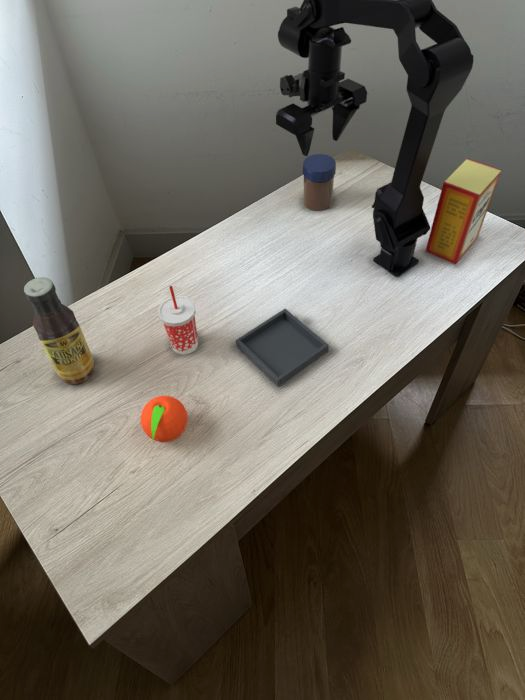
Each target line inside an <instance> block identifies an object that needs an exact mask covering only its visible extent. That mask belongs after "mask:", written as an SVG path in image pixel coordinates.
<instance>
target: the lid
mask: <svg viewBox="0 0 525 700" xmlns="http://www.w3.org/2000/svg"><path fill="white" fill-rule="evenodd" d="M336 170H337V163H336V160H335V158H333V157H332V156H331V155H328V154H324V153H316V154H311V155H308V156H306V158H304V160H303V163H302V174H303V178H304V177H305V178H306V179H308V180H310V181H313V182H325V181H328V180H330V179H332V178H333V177H334V178H335V175H336V172H337V171H336Z"/></svg>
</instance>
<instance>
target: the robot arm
mask: <svg viewBox="0 0 525 700" xmlns="http://www.w3.org/2000/svg"><path fill="white" fill-rule="evenodd" d="M341 24H349V25H357V26H359V25H360V26H366V27H374V28H380V29H386V30H387V29H388V30H392V31H393V32H394V34H395V36H396V38H397V50H398V51H397V52H398V60H399V62H400V64H401V65H402V66H401V67H403V69H404V71H405V73H406V74H407V81H406V93H407V95H408V98H409V101H410V105H411V107H410V111H409V114H408V118H407V121H406V126H405V129H404V132H403V137H402V140H401V144H400V148H399V151H398V155H397V158H396V163H395V166H394V170H393V175H392V177H391V181H390V182H389V183H386V184H385V185H382V186H380V187H378V188H376V191H375V193H374V201H373V204H372V205H371V208H372V209H373V211H372V219H373V227H374V234H375V241H377V242H378V243H379V244H380V245H379V246H380V253H379V254H377V255H375V257H373V258H372V261H373V263H375V264H376V265H378V266H379V267H380V268H382V269H384V271H386V272H388V273H390V274H391V275H392V276H393V277H396V278H399V277H401V276H402V275H404V274H405V273H406V272H408V271H409V270H411V269H412V268H414V267H415V266H417V265H418V264H419V262H420V260H419V259H418V258H417V257H415V256H414V255H415V251H416V245H417V242H418V239H419V238H420V237H423V236H426V235H427V234H428V233H429V231H431V226H430V223H429V220H428V218H427V215H426V214H425V213H426V212H425V211H424V209H423V206H424V200H425V197H424V194H423V191H422V188H421V185H422V182H423V178H424V175H425V173H426V169H427V166H428V164H429V160H430V157H431V154H432V150H433V148H434V145H435V141H436V138H437V135H438V132H439V129H440V126H441V124H442V120H443V117H444V114H445V111H446V109H447V108H448V107H449V106H450V104H451V103H452V102H453V100H454V99H455V98H456V97H457V95H459V93H460V92H461V90H462V89H463V87H464V85H465V83H466V81H467V79H468V78H469V76H470V74H471V72H472V69H473V65H474V55H473V53H472V51H471V47H470V46H469V45H468V43H467V42H466V40H465V38H464V36H463V35H462V33H461V31H460V30H459V27H458V26H457V25H456V23H454V22H453V21H452V20H450V18H448V17H447V16H446V15H445V14H443V13H442V12H441V11H439V9H438V8H437V7H436V5H435V3H434V1H433V0H303V1H302V3H301V5H300V7H298V6H293V7H290V8H287V9H286V16H285V18H283V20H282V22H281V23H280V26H279V29H278V31H277V40H278V43H279V44H280V46H281V47H283V48H284V49H286V50H288V51H290V52H291V53H293V54H295V55H296V56H299V57H301V58H303V59H308V63H307V69H306V70H303V71H302V72H300V73H298V74H295V75H293V74H289V75H288V74H285V75H284V76H283V75H282V76H281V77H280V78H279V90H280V93H281V95H282V96H288V98H293V97H299V101H301V102H302V103H305V102H306V103H307V105H306V106H304V107H301V106H299V105H297V104H296V103H291V104H288V105H286V106H284V107H281V108H279V109H278V110H276V112H275V125H277V126H278V127H280V128H282V129H283V130H285V131H287V132H289V133H290V134H292V135H295V137H296V140H297V143H298V146H299V148H300V151H301V154H302V155H303V156H304V157H309V152H310V151H311V145H312V141H313V137H314V133H315V128H314V127H313V126H312V125H313V117H315V116H317V115H320V114H321V113H324V112H326V111H328V110H330V109H331V110H332V129H331V130H332V131H331V133H332V140H333V141H335V142H337V141H339V139H340V137H341V136H342V135H343V132H344V131H345V129H346V127H347V126H348V124H349V123H350V121H351V120H352V118H353V116H354V115H355V114H356V112H357V111H358V110H360V107H361V106H362V105H363V104H365V103H367V98H368V91H367V89H366V85H364V84H361V83H359V82H357V81H354V80H353V79H350V78H345V77H346V73H345V72H344V71H342V70H341V65H342V49H343V47H344V46H348V45H350V44H351V43H352V39H351V37H350V35H349V33H347V32H346V30H345V28H344V27H343V26H341V27H338V28H334V27H333V26H337V25H341ZM416 28H417V29H419V31H421V32H422V33H423V34H424V35H426V36H427V37H428V38H429V39H430V40H431V41H433V42H434V43H435V44H432V45H430V46H427V47H425V48H421V47H420V44H419V43H418V42H417V34H416V33H417V32H416Z"/></svg>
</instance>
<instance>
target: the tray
mask: <svg viewBox="0 0 525 700" xmlns="http://www.w3.org/2000/svg"><path fill="white" fill-rule="evenodd" d="M235 346H236V347H235V348H237V350H239V351H240V352H241V353H242V354H243V355H244V356H245V357H246V358H247V359H248V360H249V361H250V362H251V363H252V364H253V365H254V366H255V367H256V368H257V369H258V370H259V371H260V372H262V373H263V374H264V375H265V377H267V378H268V379H269V381H271V382H272V383H273V384H274V385H275V386H276V387H277V388H279V387H281V386H282V385H283V384H285V383H287V382H289V380H291V379H292V378H293V377H295V376H296V375H298V374H299V373H300V372H302V371H303V370H305V369H306V368H307V367H309V366H310V365H312V364H313V363H315V362H316V361H317V360H319V359H320V358H322V357H323V356H325V355H326V354H327V353H328V352H329V344H328V343H327V342H326V341H325V340H323V339H322V338H321V337H320V336H319V335H318V334H316V333H315V332H314V331H313V330H312V329H311V328H309V327H308V326H307V325H306V324H304V323H303V322H302V321H301V320H300V319H298V317H296V316H295V315H294V314H292V313H291V311H289V310H288V309H287V308H283V309H282V310H280V311H278V312H277V313H276V314H274V315H272V316H271V317H269V318H268V319H266V320H264V321H263V322H261V323H260V324H258V325H257V326H255V327H254V328H252V329H251V330H248V331H247V332H246V333H244V334H243V335H241V336H240V337H238V338H237V339H235Z"/></svg>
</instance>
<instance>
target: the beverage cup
mask: <svg viewBox="0 0 525 700" xmlns="http://www.w3.org/2000/svg"><path fill="white" fill-rule="evenodd" d="M168 289H169V291H170V297H168V298H165V299H164V300H163V301H162V302H161V303H160V304H159V305H158V308H157V316H158V318H159V320H160V321H161V322H162V324H163V327H164V330H165V332H166V336H167V337H168V341H169V343H170V345H171V348H172V350H173V352H175V353H176V354H178V355H189V354H191V353H193V352H194V351H195V350H197V348H198V346H199V338H198V329H197V321H196V313H197V311H196V304H195V302H194V301H193V300H192V298H190V297H188V296H185V295H176V294H175V291H174V288H173V285H170V286H169V288H168Z"/></svg>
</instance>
